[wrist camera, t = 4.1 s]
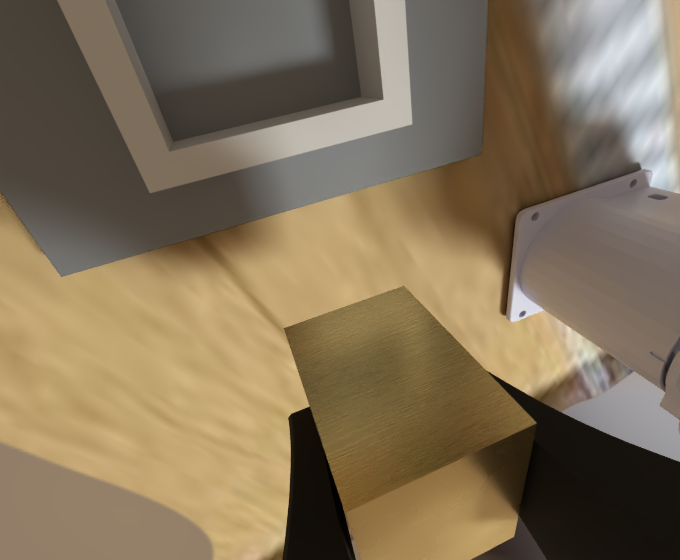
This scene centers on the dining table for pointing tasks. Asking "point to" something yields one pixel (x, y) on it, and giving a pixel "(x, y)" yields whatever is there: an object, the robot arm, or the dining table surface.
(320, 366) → the tan rectangular block
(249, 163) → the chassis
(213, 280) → the dining table surface
